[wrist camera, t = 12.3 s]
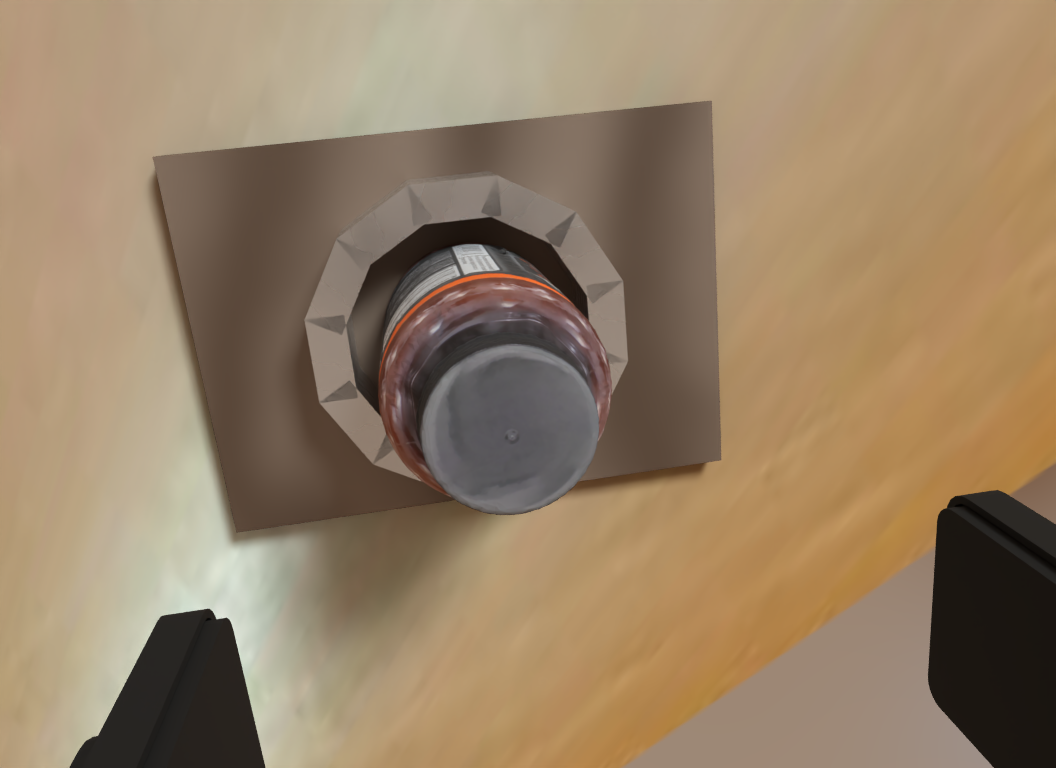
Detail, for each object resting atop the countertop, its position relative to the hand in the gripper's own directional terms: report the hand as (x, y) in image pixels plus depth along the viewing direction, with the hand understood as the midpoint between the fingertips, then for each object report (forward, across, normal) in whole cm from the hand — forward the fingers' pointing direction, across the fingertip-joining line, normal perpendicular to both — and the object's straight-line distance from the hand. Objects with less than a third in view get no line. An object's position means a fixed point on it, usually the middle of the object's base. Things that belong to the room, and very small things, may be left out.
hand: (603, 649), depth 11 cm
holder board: (+20, +1, 0) cm, 20 cm away
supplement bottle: (+19, 0, 0) cm, 19 cm away
